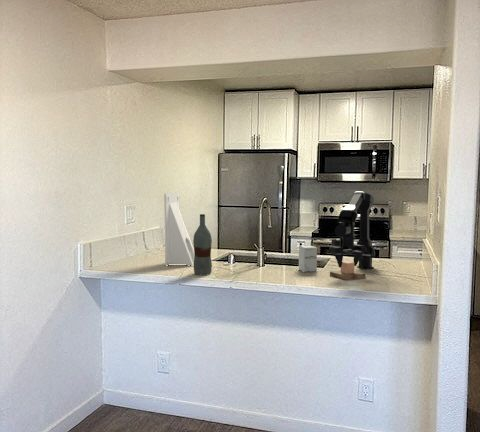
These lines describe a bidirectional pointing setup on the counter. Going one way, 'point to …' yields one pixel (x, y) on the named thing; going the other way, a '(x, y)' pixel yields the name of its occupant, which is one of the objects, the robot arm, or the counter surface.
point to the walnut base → (347, 275)
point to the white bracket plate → (176, 233)
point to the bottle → (202, 248)
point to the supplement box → (308, 258)
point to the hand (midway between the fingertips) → (347, 266)
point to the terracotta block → (347, 267)
